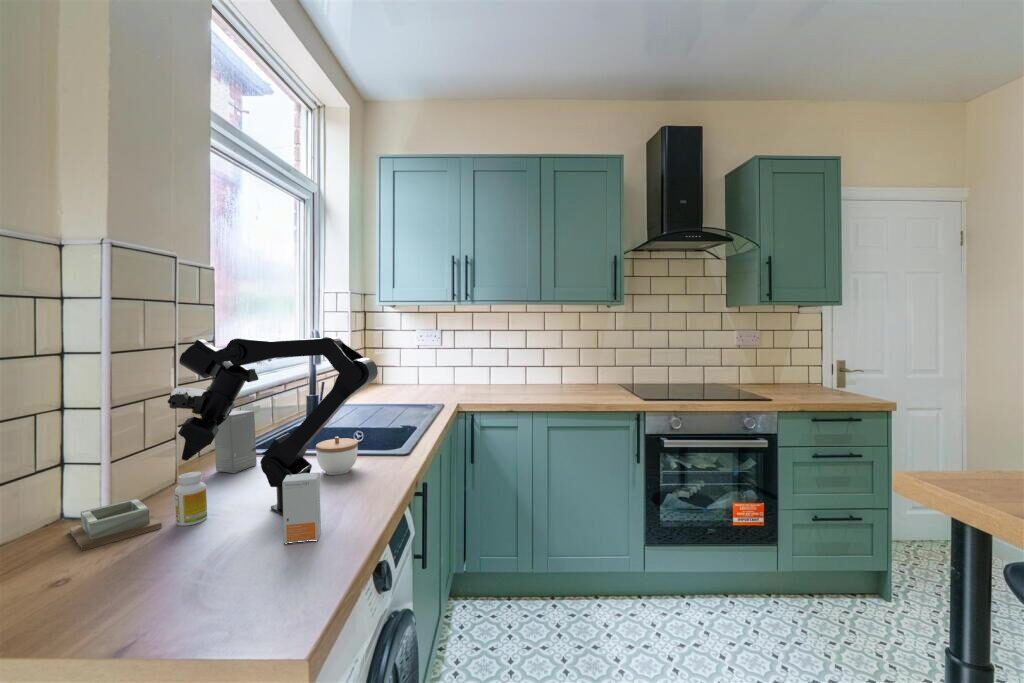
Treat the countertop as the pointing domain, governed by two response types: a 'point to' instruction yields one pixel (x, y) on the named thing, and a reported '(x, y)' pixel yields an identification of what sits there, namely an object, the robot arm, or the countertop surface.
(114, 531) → the socket board
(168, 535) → the countertop surface
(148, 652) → the countertop surface
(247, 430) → the skincare box
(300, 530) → the skincare box
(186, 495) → the supplement bottle
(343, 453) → the lidded jar
